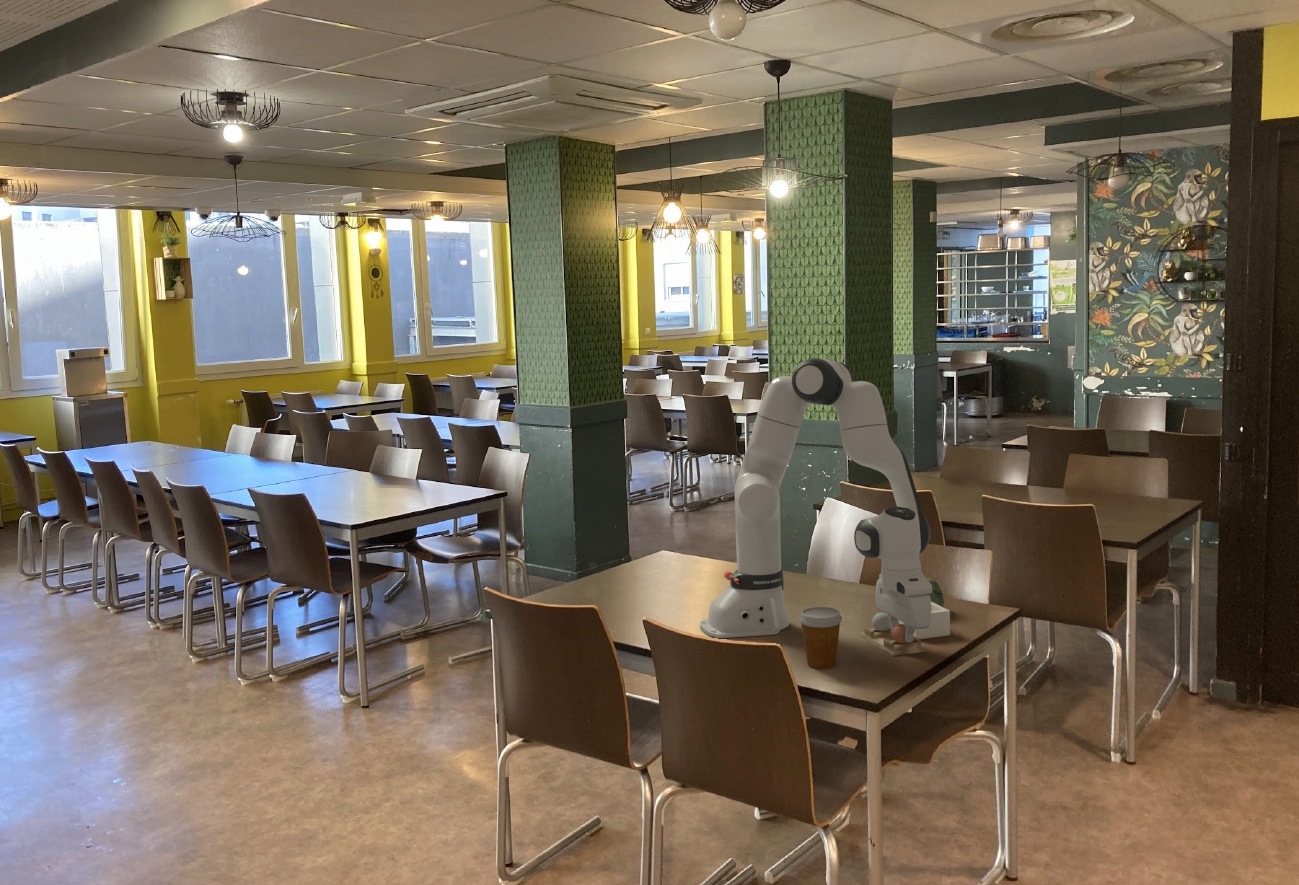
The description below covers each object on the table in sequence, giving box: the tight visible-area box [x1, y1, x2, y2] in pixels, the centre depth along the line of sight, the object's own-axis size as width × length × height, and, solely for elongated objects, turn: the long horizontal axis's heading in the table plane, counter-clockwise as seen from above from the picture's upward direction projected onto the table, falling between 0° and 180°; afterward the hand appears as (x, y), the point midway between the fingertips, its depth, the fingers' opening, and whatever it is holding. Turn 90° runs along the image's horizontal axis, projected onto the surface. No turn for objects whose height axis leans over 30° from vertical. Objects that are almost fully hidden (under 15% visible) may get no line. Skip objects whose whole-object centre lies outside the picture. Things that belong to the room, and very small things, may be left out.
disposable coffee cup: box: [798, 606, 843, 670], centre depth 237 cm, size 10×10×12 cm
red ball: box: [892, 624, 908, 644], centre depth 244 cm, size 4×4×4 cm
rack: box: [860, 627, 926, 657], centre depth 249 cm, size 8×16×2 cm, turn 15°
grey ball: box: [871, 612, 891, 632], centre depth 254 cm, size 4×4×4 cm
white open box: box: [898, 602, 951, 640], centre depth 257 cm, size 9×9×6 cm
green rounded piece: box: [925, 576, 945, 608], centre depth 272 cm, size 16×13×9 cm
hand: (902, 637), depth 244 cm, fingers closed on red ball, 4 cm apart
